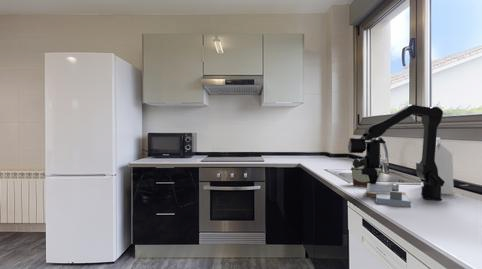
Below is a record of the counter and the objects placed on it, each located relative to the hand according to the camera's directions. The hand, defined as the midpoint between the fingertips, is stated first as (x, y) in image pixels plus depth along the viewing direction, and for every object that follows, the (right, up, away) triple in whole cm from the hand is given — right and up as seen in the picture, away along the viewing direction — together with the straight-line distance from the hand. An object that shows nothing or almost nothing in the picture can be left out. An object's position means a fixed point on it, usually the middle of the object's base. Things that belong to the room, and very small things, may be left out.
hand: (372, 187), depth 128 cm
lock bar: (+3, -1, -3) cm, 4 cm away
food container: (+6, -3, +23) cm, 24 cm away
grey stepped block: (+3, -4, -11) cm, 12 cm away
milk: (+36, -4, +11) cm, 38 cm away
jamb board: (+6, -4, -1) cm, 7 cm away
